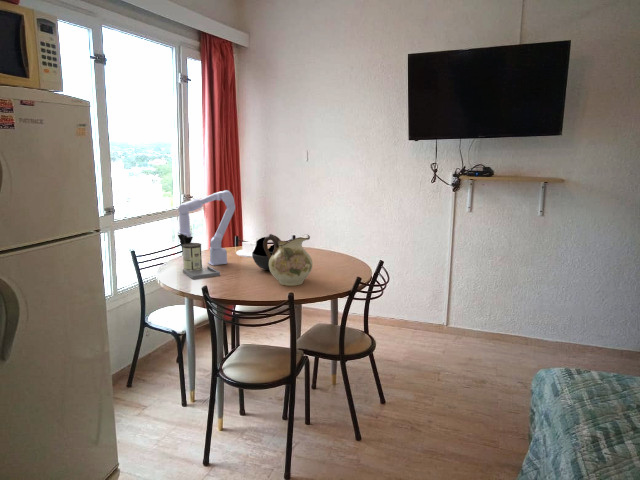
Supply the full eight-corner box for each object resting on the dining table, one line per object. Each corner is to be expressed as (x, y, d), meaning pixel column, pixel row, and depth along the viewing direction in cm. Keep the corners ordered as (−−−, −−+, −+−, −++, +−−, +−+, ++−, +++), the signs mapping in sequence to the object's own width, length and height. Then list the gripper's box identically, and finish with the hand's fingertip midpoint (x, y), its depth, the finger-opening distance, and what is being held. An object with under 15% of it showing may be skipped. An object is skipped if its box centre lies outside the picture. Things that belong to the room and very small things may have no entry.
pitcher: (317, 286, 227) (317, 237, 223) (270, 290, 220) (270, 239, 216) (306, 275, 248) (306, 230, 244) (263, 278, 242) (262, 232, 237)
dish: (279, 250, 311) (279, 234, 309) (266, 259, 287) (266, 241, 285) (245, 248, 316) (244, 232, 314) (230, 256, 292) (229, 239, 290)
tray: (209, 269, 259) (208, 265, 259) (220, 275, 246) (219, 272, 246) (182, 272, 251) (182, 269, 251) (192, 279, 238) (192, 276, 238)
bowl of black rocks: (251, 266, 267) (250, 234, 263) (285, 264, 271) (285, 233, 267) (253, 275, 248) (253, 241, 244) (290, 273, 252) (290, 240, 248)
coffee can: (190, 265, 266) (189, 242, 263) (205, 267, 263) (204, 243, 260) (179, 270, 257) (178, 245, 254) (195, 271, 253) (194, 246, 251)
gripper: (173, 223, 268) (174, 246, 270) (181, 226, 256) (182, 250, 258) (185, 222, 272) (186, 244, 274) (194, 225, 260) (195, 249, 262)
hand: (185, 247), depth 267 cm, fingers open, 6 cm apart
